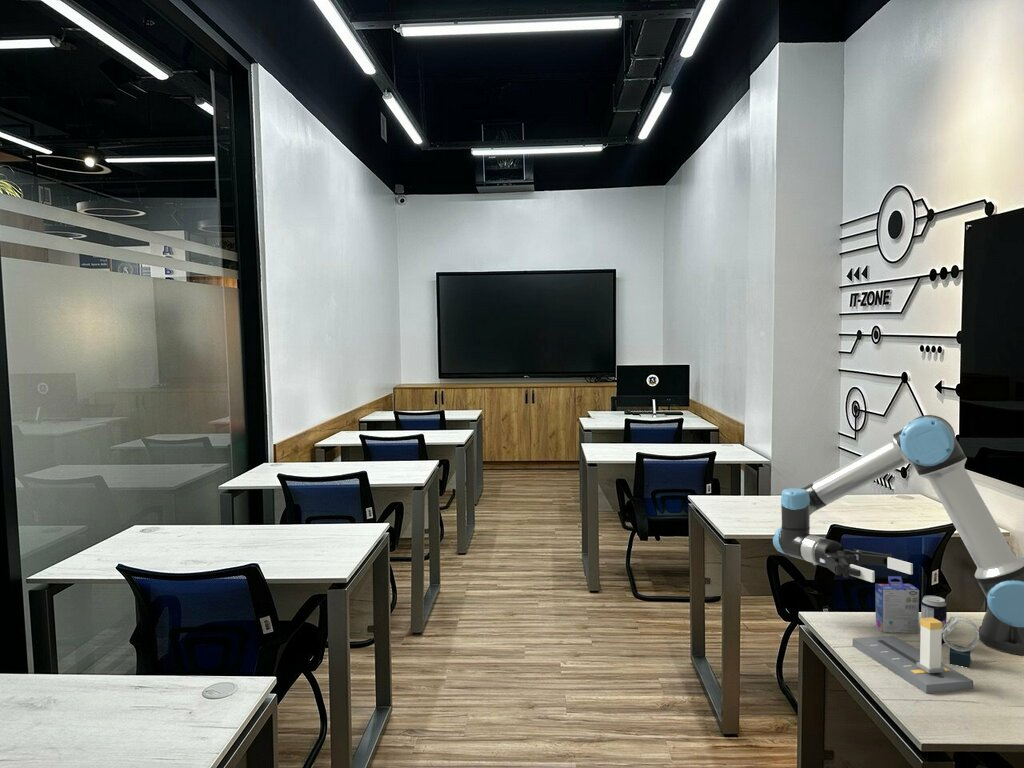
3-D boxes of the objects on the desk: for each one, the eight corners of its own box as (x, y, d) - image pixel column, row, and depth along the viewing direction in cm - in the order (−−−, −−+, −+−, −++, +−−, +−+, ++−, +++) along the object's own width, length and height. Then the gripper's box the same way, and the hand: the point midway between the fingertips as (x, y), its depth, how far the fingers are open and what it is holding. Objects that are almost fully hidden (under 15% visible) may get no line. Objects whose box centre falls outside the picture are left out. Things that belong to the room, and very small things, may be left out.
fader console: (893, 642, 183) (893, 634, 183) (973, 689, 157) (973, 680, 157) (852, 645, 181) (852, 637, 181) (926, 693, 155) (926, 684, 155)
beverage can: (944, 649, 178) (945, 604, 178) (919, 644, 182) (920, 599, 181) (946, 642, 183) (947, 597, 183) (922, 637, 186) (923, 593, 186)
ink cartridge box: (909, 625, 194) (910, 575, 194) (920, 633, 189) (921, 581, 188) (873, 625, 195) (874, 574, 194) (882, 633, 189) (883, 581, 189)
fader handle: (931, 664, 164) (932, 616, 164) (944, 672, 160) (945, 622, 160) (916, 665, 164) (917, 617, 163) (928, 673, 160) (929, 624, 159)
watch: (940, 654, 176) (941, 611, 175) (979, 661, 171) (980, 618, 171) (939, 662, 171) (940, 618, 171) (978, 670, 167) (980, 625, 166)
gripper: (855, 559, 195) (927, 580, 176) (788, 571, 185) (856, 595, 166) (855, 533, 195) (926, 551, 175) (788, 544, 185) (856, 564, 165)
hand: (893, 572), depth 170 cm, fingers open, 13 cm apart
